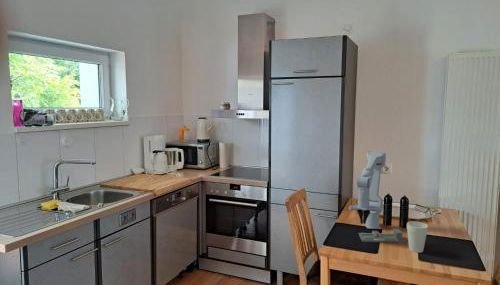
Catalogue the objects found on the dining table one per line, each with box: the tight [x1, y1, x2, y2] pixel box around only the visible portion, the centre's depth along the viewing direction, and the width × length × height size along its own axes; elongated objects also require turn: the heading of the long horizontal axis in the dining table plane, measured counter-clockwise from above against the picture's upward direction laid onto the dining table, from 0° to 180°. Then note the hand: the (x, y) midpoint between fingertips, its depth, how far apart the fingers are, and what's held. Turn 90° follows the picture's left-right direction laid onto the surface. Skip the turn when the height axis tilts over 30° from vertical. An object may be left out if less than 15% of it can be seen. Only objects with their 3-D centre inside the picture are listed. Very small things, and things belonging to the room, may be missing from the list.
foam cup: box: [406, 220, 429, 254], centre depth 171 cm, size 10×9×13 cm
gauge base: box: [358, 228, 407, 244], centre depth 186 cm, size 10×22×4 cm, turn 85°
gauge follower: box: [371, 230, 380, 237], centre depth 185 cm, size 6×3×2 cm, turn 175°
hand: (362, 223), depth 186 cm, fingers closed
